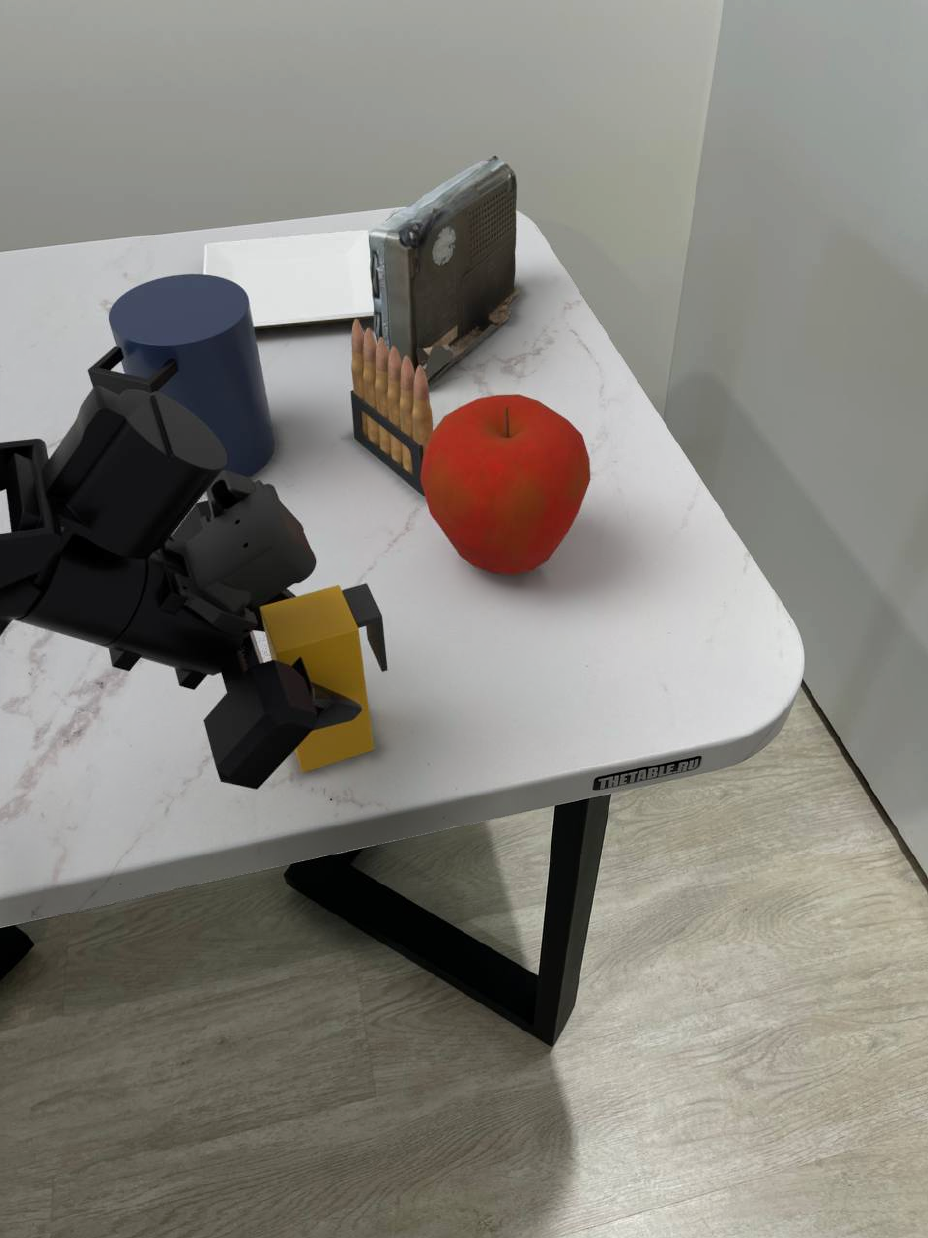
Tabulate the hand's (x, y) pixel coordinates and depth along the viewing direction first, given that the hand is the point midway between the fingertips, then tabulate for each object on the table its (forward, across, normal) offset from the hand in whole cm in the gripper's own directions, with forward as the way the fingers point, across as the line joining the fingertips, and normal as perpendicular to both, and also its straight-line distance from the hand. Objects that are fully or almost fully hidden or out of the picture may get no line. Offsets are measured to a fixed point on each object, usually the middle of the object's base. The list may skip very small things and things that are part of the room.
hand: (340, 669), depth 64 cm
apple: (+16, +12, -7) cm, 22 cm away
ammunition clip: (+14, +27, -4) cm, 30 cm away
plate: (+13, +59, -3) cm, 61 cm away
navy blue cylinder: (+2, +34, +7) cm, 34 cm away
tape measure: (+4, 0, +6) cm, 7 cm away
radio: (+22, +46, -12) cm, 52 cm away
